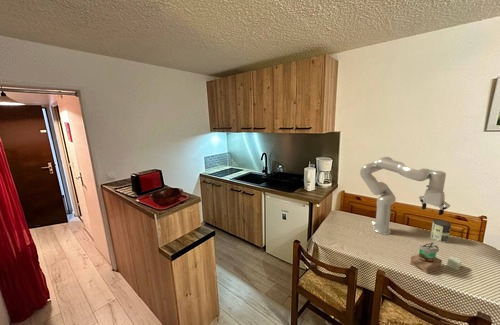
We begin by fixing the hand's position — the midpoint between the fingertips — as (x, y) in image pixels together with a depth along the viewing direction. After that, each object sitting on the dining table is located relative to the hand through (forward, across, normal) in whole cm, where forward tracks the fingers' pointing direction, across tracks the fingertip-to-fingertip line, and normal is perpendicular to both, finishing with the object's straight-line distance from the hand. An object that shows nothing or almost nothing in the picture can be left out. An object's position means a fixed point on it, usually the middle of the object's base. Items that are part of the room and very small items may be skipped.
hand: (431, 211), depth 136 cm
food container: (+24, +13, -21) cm, 34 cm away
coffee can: (+28, -3, +21) cm, 36 cm away
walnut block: (+28, +11, -21) cm, 37 cm away
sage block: (+28, +18, -6) cm, 34 cm away
